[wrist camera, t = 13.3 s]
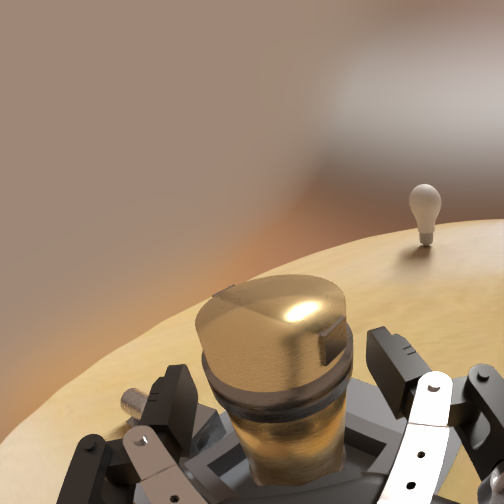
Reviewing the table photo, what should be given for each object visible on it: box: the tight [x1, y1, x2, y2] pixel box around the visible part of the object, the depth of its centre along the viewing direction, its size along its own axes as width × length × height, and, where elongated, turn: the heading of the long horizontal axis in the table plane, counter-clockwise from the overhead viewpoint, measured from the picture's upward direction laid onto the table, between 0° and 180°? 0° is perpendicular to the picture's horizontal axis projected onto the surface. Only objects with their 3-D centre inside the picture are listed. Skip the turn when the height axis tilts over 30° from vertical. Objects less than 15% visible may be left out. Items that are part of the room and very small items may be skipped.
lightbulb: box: [409, 184, 441, 246], centre depth 41 cm, size 6×6×11 cm
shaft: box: [121, 388, 227, 459], centre depth 17 cm, size 8×3×4 cm, turn 62°
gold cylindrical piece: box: [195, 275, 353, 486], centre depth 10 cm, size 5×5×12 cm
